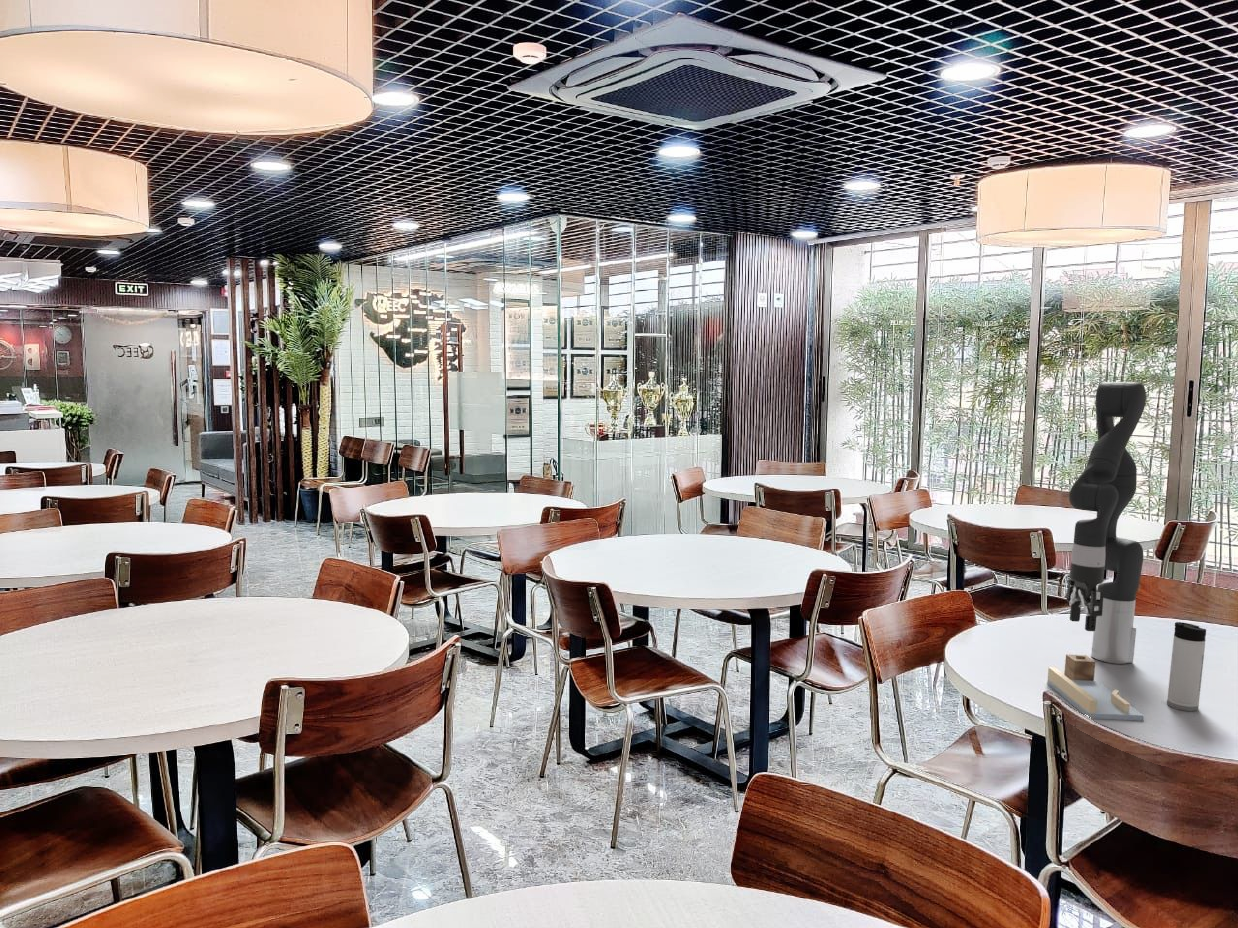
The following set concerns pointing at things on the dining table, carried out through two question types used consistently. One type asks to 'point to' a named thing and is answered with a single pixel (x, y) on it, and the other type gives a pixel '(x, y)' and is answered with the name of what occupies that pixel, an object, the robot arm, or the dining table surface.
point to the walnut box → (1079, 667)
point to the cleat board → (1092, 698)
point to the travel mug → (1186, 667)
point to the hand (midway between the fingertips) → (1082, 625)
